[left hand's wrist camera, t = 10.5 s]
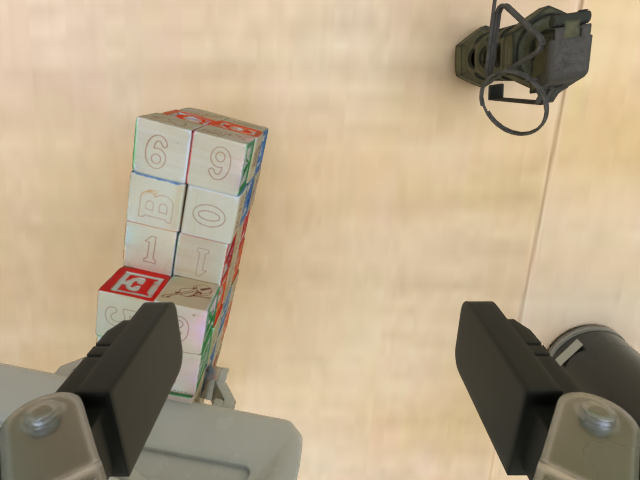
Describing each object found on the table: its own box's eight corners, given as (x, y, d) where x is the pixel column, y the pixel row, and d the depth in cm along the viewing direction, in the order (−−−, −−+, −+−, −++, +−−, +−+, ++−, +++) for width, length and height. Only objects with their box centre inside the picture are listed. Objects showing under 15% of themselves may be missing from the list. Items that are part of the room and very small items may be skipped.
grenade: (438, 22, 37) (511, -12, 23) (504, 13, 37) (618, -27, 23) (440, 123, 40) (504, 147, 26) (500, 115, 40) (598, 136, 26)
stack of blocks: (187, 104, 30) (109, 118, 19) (270, 127, 31) (242, 153, 20) (153, 340, 38) (82, 453, 26) (221, 354, 38) (180, 471, 27)
